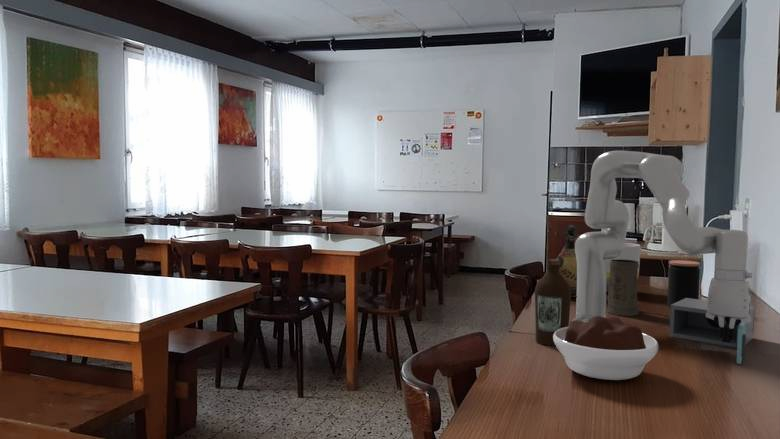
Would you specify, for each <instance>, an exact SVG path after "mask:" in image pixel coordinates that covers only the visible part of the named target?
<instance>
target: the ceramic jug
mask: <svg viewBox="0 0 780 439" xmlns="http://www.w3.org/2000/svg"><path fill="white" fill-rule="evenodd" d="M565 235H566V237H565V238H566V240H565V246H564V249H562V251H561V252H560V253H559V254H558V256H557V257H556V258H555V259H556V260H559V273H560V274H561V276H562V277H563V278H564V279H565V280H566V281H567V282H568V284H569V286H570V289H571V297H576V296H577V260H576V254H575V239H578V237H579V232H578V230H576V226H575V225H574V224H573V225H572V224H570V225H568V226H567V228H566V232H565ZM576 298H577V297H576Z"/></svg>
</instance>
